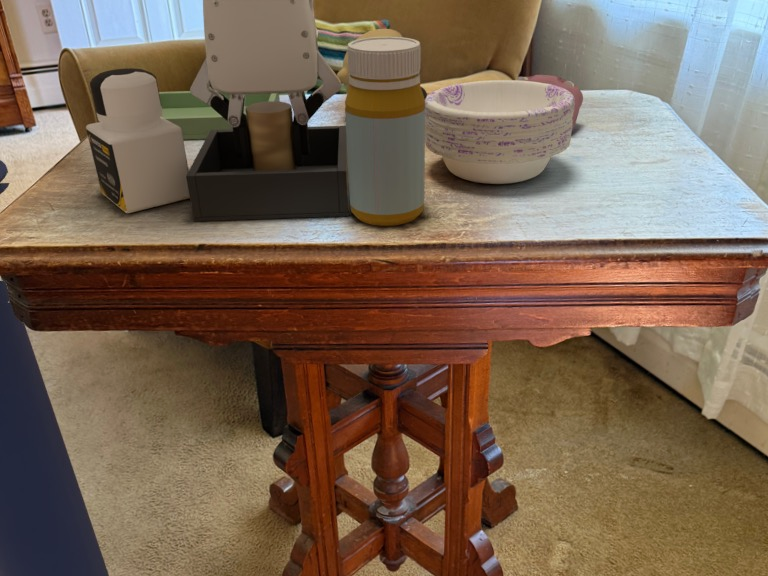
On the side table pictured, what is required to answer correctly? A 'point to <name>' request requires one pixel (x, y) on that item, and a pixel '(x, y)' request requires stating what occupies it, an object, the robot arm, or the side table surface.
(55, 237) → the side table surface
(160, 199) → the medicine bottle
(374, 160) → the bottle
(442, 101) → the paper bowls
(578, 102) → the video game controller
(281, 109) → the brown wooden cylinder
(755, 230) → the side table surface
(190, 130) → the tray
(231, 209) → the bin
